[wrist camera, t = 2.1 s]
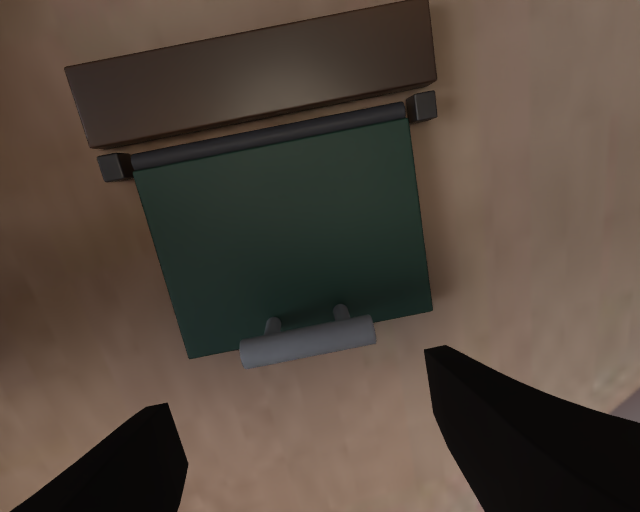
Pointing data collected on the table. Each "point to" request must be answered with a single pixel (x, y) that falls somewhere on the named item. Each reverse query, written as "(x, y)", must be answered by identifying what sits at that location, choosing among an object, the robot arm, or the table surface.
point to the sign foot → (255, 77)
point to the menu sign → (289, 235)
